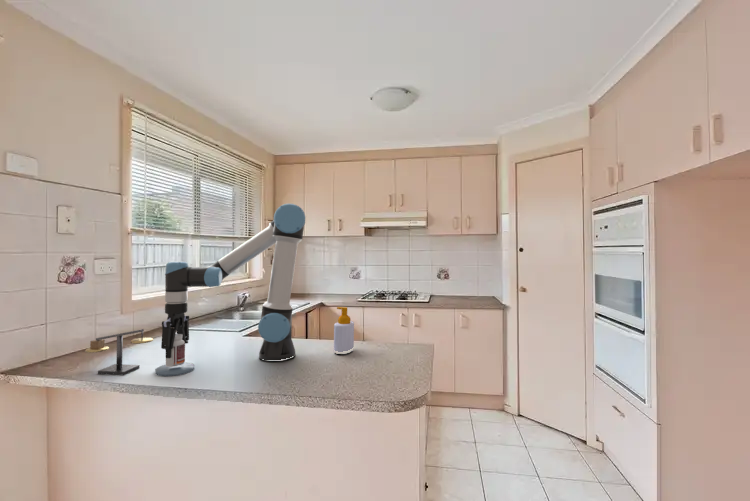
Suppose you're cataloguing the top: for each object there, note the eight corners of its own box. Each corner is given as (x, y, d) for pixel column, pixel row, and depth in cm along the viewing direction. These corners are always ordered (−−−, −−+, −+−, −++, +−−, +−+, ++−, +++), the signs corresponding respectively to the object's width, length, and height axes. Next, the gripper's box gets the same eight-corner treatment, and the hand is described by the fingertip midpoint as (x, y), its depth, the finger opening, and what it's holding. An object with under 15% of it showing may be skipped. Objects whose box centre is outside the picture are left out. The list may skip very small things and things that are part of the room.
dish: (201, 365, 146) (201, 362, 146) (181, 377, 133) (181, 373, 133) (169, 364, 147) (169, 361, 147) (147, 375, 134) (147, 372, 134)
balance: (157, 368, 142) (158, 327, 142) (142, 375, 134) (143, 331, 134) (97, 366, 143) (97, 325, 143) (79, 373, 135) (79, 329, 135)
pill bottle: (183, 360, 144) (184, 332, 144) (185, 365, 139) (186, 335, 139) (165, 363, 141) (165, 334, 141) (166, 367, 136) (167, 337, 136)
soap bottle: (341, 347, 177) (341, 305, 177) (357, 349, 175) (357, 306, 175) (329, 354, 165) (330, 309, 165) (346, 356, 162) (347, 310, 162)
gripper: (181, 299, 150) (181, 356, 150) (149, 305, 131) (148, 371, 131) (199, 299, 149) (198, 356, 149) (170, 306, 130) (169, 372, 130)
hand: (175, 363), depth 140 cm, fingers closed on pill bottle, 6 cm apart
